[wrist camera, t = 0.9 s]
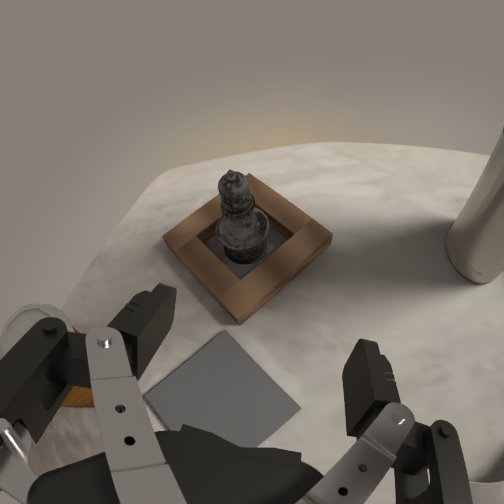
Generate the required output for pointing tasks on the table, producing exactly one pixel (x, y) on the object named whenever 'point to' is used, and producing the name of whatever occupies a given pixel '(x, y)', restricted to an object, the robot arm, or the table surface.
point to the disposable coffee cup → (21, 324)
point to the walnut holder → (268, 271)
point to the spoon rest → (487, 492)
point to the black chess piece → (241, 221)
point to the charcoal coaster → (223, 395)
